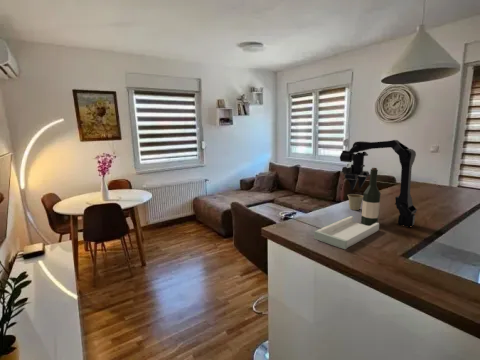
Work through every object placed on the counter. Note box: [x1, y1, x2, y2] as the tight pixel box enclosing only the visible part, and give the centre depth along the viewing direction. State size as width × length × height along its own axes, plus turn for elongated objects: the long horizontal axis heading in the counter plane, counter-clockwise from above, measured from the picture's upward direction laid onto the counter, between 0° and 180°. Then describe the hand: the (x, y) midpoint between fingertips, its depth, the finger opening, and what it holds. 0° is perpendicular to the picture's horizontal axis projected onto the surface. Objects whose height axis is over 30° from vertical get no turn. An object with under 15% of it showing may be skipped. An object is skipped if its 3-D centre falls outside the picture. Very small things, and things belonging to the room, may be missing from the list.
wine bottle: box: [360, 167, 382, 226], centre depth 141 cm, size 8×8×30 cm
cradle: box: [313, 215, 380, 250], centre depth 129 cm, size 15×34×4 cm, turn 131°
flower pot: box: [347, 193, 363, 211], centre depth 169 cm, size 9×9×9 cm
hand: (356, 189), depth 160 cm, fingers open, 9 cm apart
